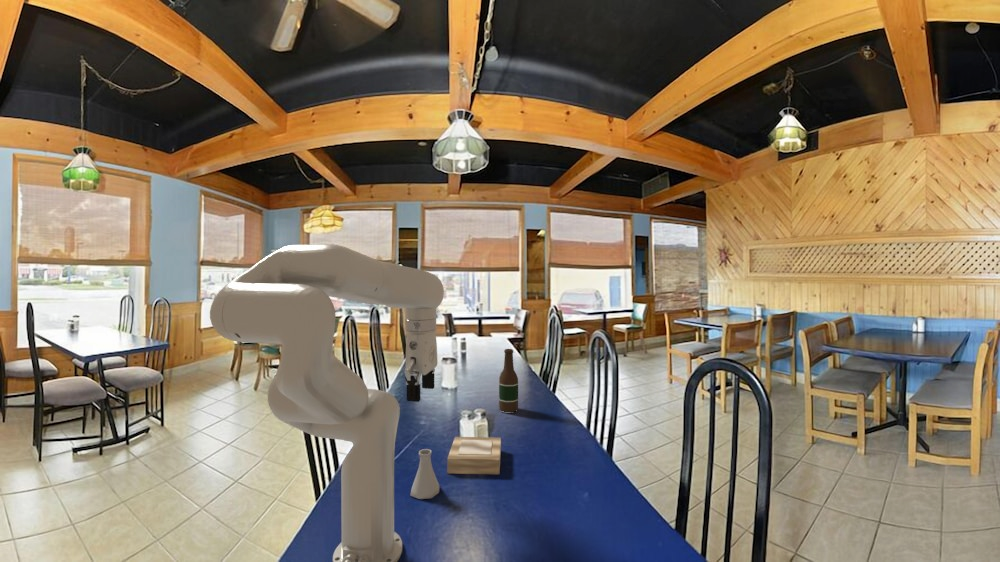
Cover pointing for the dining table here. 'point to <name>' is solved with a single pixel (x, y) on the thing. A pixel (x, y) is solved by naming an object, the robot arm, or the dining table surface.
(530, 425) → the dining table surface
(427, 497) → the flask
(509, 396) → the beer bottle
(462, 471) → the plinth
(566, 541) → the dining table surface
